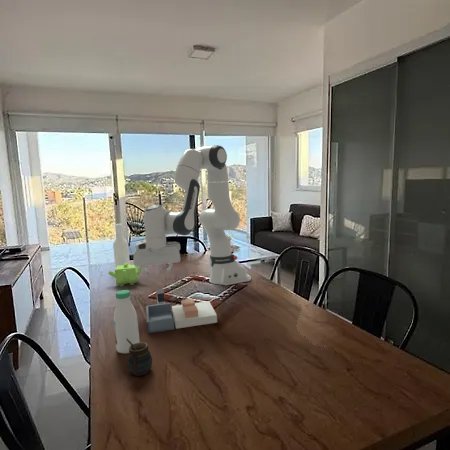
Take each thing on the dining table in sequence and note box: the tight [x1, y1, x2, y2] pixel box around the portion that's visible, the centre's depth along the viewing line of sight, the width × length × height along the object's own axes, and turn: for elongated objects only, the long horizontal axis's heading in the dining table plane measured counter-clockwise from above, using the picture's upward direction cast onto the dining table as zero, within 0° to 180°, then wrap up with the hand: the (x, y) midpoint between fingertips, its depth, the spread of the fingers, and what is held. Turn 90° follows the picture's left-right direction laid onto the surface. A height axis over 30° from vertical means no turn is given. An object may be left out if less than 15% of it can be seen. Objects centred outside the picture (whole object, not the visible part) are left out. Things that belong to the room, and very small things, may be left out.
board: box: [171, 300, 218, 329], centre depth 141 cm, size 16×16×3 cm
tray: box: [145, 302, 175, 334], centre depth 138 cm, size 10×17×4 cm, turn 13°
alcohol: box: [112, 223, 131, 269], centre depth 217 cm, size 9×9×30 cm
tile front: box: [183, 306, 198, 318], centre depth 136 cm, size 5×5×2 cm
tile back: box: [180, 298, 196, 310], centre depth 144 cm, size 5×5×2 cm
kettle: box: [108, 263, 143, 287], centre depth 191 cm, size 15×14×11 cm
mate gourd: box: [126, 339, 153, 377], centre depth 103 cm, size 7×8×10 cm
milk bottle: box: [113, 289, 141, 354], centre depth 117 cm, size 8×8×20 cm
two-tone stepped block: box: [156, 288, 166, 304], centre depth 155 cm, size 3×14×7 cm, turn 14°
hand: (158, 273), depth 153 cm, fingers open, 8 cm apart
